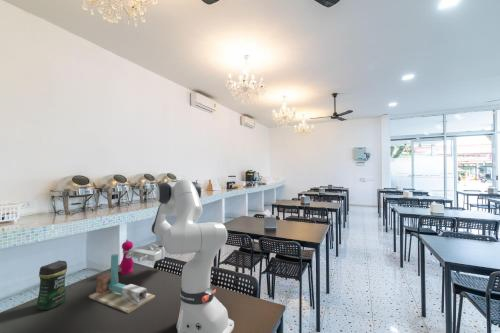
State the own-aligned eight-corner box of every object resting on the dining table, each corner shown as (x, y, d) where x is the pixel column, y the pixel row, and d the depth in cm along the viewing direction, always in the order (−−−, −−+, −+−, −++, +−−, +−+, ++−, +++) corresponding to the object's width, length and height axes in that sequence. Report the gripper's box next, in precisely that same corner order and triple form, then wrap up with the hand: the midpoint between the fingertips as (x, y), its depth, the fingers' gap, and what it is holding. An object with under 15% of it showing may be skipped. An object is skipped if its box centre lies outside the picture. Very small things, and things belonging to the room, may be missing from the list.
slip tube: (133, 293, 109) (134, 258, 109) (127, 296, 106) (128, 260, 107) (110, 285, 116) (111, 252, 117) (104, 288, 113) (105, 254, 114)
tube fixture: (154, 297, 110) (155, 280, 110) (128, 313, 97) (128, 293, 98) (116, 285, 122) (117, 269, 123) (88, 297, 110) (89, 280, 110)
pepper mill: (135, 270, 141) (136, 237, 142) (128, 275, 134) (129, 240, 135) (124, 269, 142) (125, 237, 143) (116, 274, 135) (118, 240, 136)
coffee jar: (47, 312, 98) (49, 267, 98) (32, 310, 99) (34, 266, 100) (69, 300, 107) (71, 259, 108) (55, 298, 109) (57, 258, 109)
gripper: (141, 242, 139) (119, 249, 127) (166, 247, 131) (146, 255, 118) (141, 253, 139) (119, 260, 127) (166, 259, 130) (145, 267, 118)
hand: (132, 258), depth 122 cm, fingers open, 8 cm apart
